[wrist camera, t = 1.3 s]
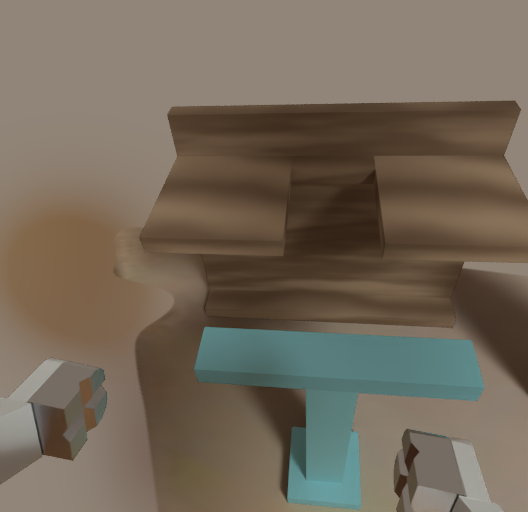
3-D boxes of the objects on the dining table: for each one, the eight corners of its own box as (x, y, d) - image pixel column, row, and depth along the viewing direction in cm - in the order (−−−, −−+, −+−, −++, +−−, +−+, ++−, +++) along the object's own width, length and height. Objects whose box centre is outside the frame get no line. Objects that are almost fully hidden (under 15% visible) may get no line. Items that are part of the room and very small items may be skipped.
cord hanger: (422, 516, 35) (492, 414, 22) (229, 496, 37) (187, 393, 24) (412, 441, 39) (465, 319, 26) (240, 427, 41) (209, 307, 28)
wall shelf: (469, 395, 42) (580, 197, 25) (191, 376, 45) (122, 193, 28) (445, 296, 50) (515, 100, 33) (214, 287, 54) (171, 106, 37)
